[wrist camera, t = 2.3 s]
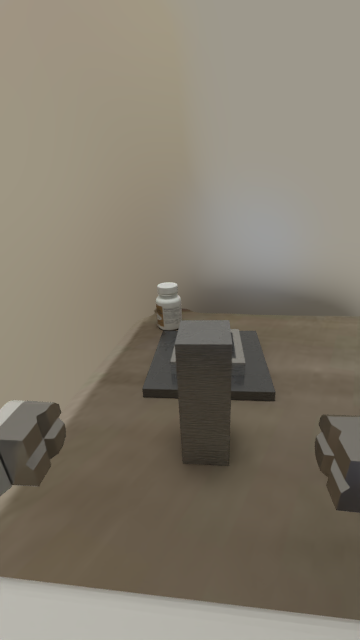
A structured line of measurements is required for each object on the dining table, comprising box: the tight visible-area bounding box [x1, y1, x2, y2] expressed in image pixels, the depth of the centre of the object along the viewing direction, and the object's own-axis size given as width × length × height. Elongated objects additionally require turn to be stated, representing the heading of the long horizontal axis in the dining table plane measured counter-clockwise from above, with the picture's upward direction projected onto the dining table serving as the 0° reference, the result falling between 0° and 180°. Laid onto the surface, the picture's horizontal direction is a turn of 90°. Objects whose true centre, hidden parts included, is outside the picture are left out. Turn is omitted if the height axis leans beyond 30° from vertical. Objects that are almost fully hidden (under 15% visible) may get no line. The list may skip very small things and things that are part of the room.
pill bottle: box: [156, 282, 182, 331], centre depth 49 cm, size 4×4×8 cm
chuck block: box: [143, 329, 275, 401], centre depth 38 cm, size 15×15×3 cm
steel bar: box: [175, 320, 232, 466], centre depth 23 cm, size 4×4×12 cm
